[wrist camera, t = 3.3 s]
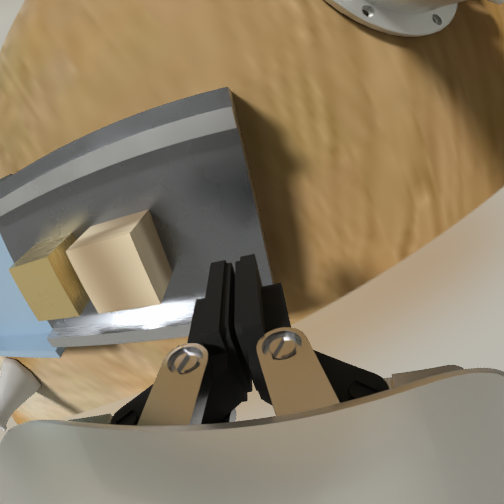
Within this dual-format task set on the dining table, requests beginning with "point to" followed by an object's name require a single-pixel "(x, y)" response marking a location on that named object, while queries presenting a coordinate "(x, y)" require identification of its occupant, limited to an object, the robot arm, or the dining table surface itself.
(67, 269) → the olive yellow block
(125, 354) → the dining table surface
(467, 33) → the dining table surface
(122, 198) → the slot block
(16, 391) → the flask
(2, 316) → the tray
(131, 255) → the beige square block
